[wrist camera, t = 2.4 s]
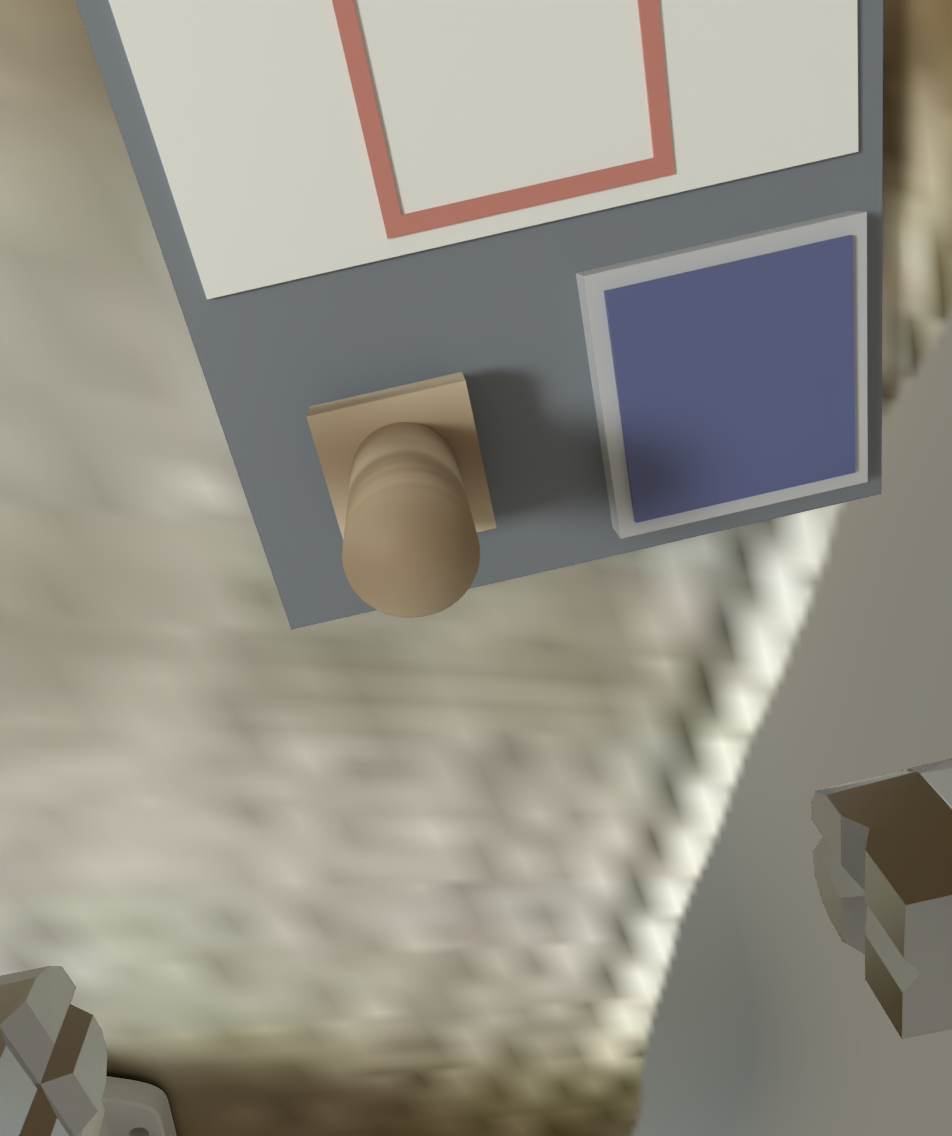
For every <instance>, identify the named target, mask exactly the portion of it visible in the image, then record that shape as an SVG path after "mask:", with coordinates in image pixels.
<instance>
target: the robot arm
mask: <svg viewBox="0 0 952 1136" xmlns="http://www.w3.org/2000/svg"><path fill="white" fill-rule="evenodd" d="M811 812H812V813H811V814H812V815H811V817H812V821H813V823H814V824H815V826H816V827H817V829H818V830H819V832H820V834H821V835H822V836H823V837H822V839H821V840H820V842H819V843H818V845H817V846H816V847H815V849H814V850H813V862H814V875H815V879H816V882H817V886H818V889H819V893H820V896H821V900H822V903H823V905H824V907H825V909H826V911H827V914H828V916H829V918H830V920H831V922H832V924H833V925H834V927H835V929H836V931H837V932H838V934H839V936H840V938H841V939H842V941H843V942H844V943H846V944H848V945H849V946H852V947H853V948H855V949H856V950H858V951H860V952H862V953H863V954H865V979H866V981H867V983H868V984H869V986H870V988H871V989H872V991H873V992H874V994H875V996H876V997H877V999H878V1001H879V1002H880V1004H881V1006H882V1007H883V1009H884V1010H885V1012H886V1014H887V1015H888V1017H889V1019H890V1020H891V1022H892V1024H893V1025H894V1027H895V1029H896V1030H897V1032H898V1033H899V1035H900V1037H901V1038H902V1039H904V1038H909V1037H914V1036H920V1035H925V1034H930V1033H935V1032H940V1031H945V1030H950V1029H952V758H951V759H947V760H943V761H939V762H934V763H931V764H926V765H922V766H918V767H913V768H910V769H908V770H906V771H903V770H901V771H897V772H893V773H889V774H885V775H880V776H877V777H872V778H868V779H864V780H860V781H855V782H851V783H847V784H843V785H838V786H834V787H830V788H826V789H822V790H817V791H815V792H814V795H813V798H812V801H811ZM75 989H76V986H75V985H74V983H73V982H72V981H71V979H70V978H69V976H68V975H67V973H66V972H65V970H64V969H63V967H60V966H47V967H42V968H37V969H32V970H27V971H22V972H17V973H12V974H7V975H2V976H0V1136H177V1134H176V1130H175V1126H174V1122H173V1118H172V1114H171V1110H170V1106H169V1102H168V1098H167V1096H166V1094H165V1093H164V1092H163V1091H162V1090H161V1089H159V1088H158V1087H156V1086H154V1085H151V1084H148V1083H144V1082H140V1081H135V1080H129V1079H123V1078H116V1077H109V1076H106V1074H107V1048H106V1044H105V1040H104V1036H103V1032H102V1030H101V1028H100V1026H99V1025H98V1023H97V1021H96V1019H95V1018H94V1016H93V1015H92V1014H90V1013H88V1012H86V1011H83V1010H81V1009H79V1008H77V1007H75V1006H73V1005H71V1004H70V1003H71V1001H72V998H73V995H74V992H75Z"/></svg>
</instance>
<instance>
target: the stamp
mask: <svg viewBox="0 0 952 1136" xmlns="http://www.w3.org/2000/svg"><path fill="white" fill-rule="evenodd" d="M307 420H308V424H309V427H310V430H311V434H312V437H313V440H314V444H315V447H316V451H317V454H318V457H319V461H320V464H321V467H322V471H323V474H324V477H325V481H326V484H327V488H328V491H329V494H330V498H331V501H332V504H333V508H334V511H335V514H336V518H337V521H338V525H339V528H340V531H341V535H342V538H343V548H342V561H343V567H344V572H345V574H346V577H347V580H348V581H349V583H350V585H351V587H352V588H353V590H354V591H355V592H356V594H357V595H358V596H359V597H360V598H361V599H362V600H363V601H365V602H366V603H367V604H368V605H370V606H372V607H373V608H375V609H377V610H379V611H381V612H383V613H386V614H389V615H393V616H398V617H408V618H412V617H422V616H428V615H431V614H435V613H437V612H440V611H442V610H444V609H446V608H448V607H449V606H451V605H452V604H454V603H455V602H456V601H458V600H459V599H460V598H461V597H462V596H463V595H464V594H465V593H466V591H467V590H468V589H469V587H470V586H471V584H472V583H473V581H474V579H475V576H476V574H477V571H478V567H479V562H480V545H479V540H478V536H477V532H481V531H486V530H490V529H494V528H496V523H495V518H494V513H493V508H492V504H491V499H490V494H489V489H488V485H487V480H486V475H485V470H484V466H483V461H482V456H481V451H480V447H479V442H478V437H477V432H476V427H475V423H474V418H473V413H472V408H471V404H470V399H469V394H468V389H467V385H466V380H465V378H464V376H463V373H462V372H458V373H453V374H448V375H444V376H439V377H435V378H431V379H426V380H422V381H417V382H413V383H409V384H404V385H400V386H396V387H391V388H387V389H382V390H378V391H374V392H369V393H365V394H361V395H356V396H352V397H347V398H343V399H339V400H334V401H330V402H325V403H321V404H318V405H314V406H310V408H309V411H308V414H307Z"/></svg>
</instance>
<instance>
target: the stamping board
mask: <svg viewBox="0 0 952 1136" xmlns="http://www.w3.org/2000/svg"><path fill="white" fill-rule="evenodd" d="M76 3H77V6H78V9H79V12H80V15H81V18H82V21H83V24H84V27H85V30H86V32H87V35H88V38H89V41H90V44H91V47H92V50H93V53H94V56H95V59H96V62H97V65H98V67H99V70H100V73H101V76H102V79H103V82H104V85H105V88H106V91H107V94H108V97H109V99H110V102H111V105H112V108H113V111H114V114H115V117H116V120H117V123H118V126H119V129H120V132H121V134H122V137H123V140H124V143H125V146H126V149H127V152H128V155H129V158H130V161H131V164H132V166H133V169H134V172H135V175H136V178H137V181H138V184H139V187H140V190H141V193H142V196H143V199H144V201H145V204H146V207H147V210H148V213H149V216H150V219H151V222H152V225H153V228H154V231H155V233H156V236H157V239H158V242H159V245H160V248H161V251H162V254H163V257H164V260H165V263H166V265H167V268H168V271H169V274H170V277H171V280H172V283H173V286H174V289H175V292H176V295H177V298H178V300H179V303H180V306H181V309H182V312H183V315H184V318H185V321H186V324H187V327H188V330H189V332H190V335H191V338H192V341H193V344H194V347H195V350H196V353H197V356H198V359H199V362H200V365H201V367H202V370H203V373H204V376H205V379H206V382H207V385H208V388H209V391H210V394H211V397H212V399H213V402H214V405H215V408H216V411H217V414H218V417H219V420H220V423H221V426H222V429H223V432H224V434H225V437H226V440H227V443H228V446H229V449H230V452H231V455H232V458H233V461H234V464H235V466H236V469H237V472H238V475H239V478H240V481H241V484H242V487H243V490H244V493H245V496H246V499H247V501H248V504H249V507H250V510H251V513H252V516H253V519H254V522H255V525H256V528H257V531H258V533H259V536H260V539H261V542H262V545H263V548H264V551H265V554H266V557H267V560H268V563H269V565H270V568H271V571H272V574H273V577H274V580H275V583H276V586H277V589H278V592H279V595H280V598H281V600H282V603H283V606H284V609H285V612H286V615H287V618H288V621H289V624H290V627H291V629H296V628H300V627H304V626H309V625H313V624H317V623H322V622H326V621H330V620H335V619H339V618H343V617H348V616H352V615H356V614H361V613H365V612H370V611H374V610H377V609H375V608H373V607H372V606H370V605H368V604H367V603H366V602H365V601H363V600H362V599H361V598H360V597H359V596H358V595H357V594H356V592H355V591H354V590H353V588H352V587H351V585H350V583H349V581H348V580H347V577H346V574H345V572H344V567H343V561H342V548H343V538H342V535H341V531H340V528H339V525H338V521H337V518H336V514H335V511H334V508H333V504H332V501H331V498H330V494H329V491H328V488H327V484H326V481H325V477H324V474H323V471H322V467H321V464H320V461H319V457H318V454H317V451H316V447H315V444H314V440H313V437H312V434H311V430H310V427H309V424H308V420H307V414H308V411H309V408H310V406H314V405H318V404H321V403H325V402H330V401H334V400H339V399H343V398H347V397H352V396H356V395H361V394H365V393H369V392H374V391H378V390H382V389H387V388H391V387H396V386H400V385H404V384H409V383H413V382H417V381H422V380H426V379H431V378H435V377H439V376H444V375H448V374H453V373H458V372H462V373H463V376H464V378H465V380H466V385H467V389H468V394H469V399H470V404H471V408H472V413H473V418H474V423H475V427H476V432H477V437H478V442H479V447H480V451H481V456H482V461H483V466H484V470H485V475H486V480H487V485H488V489H489V494H490V499H491V504H492V508H493V513H494V518H495V523H496V528H494V529H490V530H486V531H481V532H477V536H478V540H479V545H480V562H479V567H478V571H477V574H476V576H475V579H474V581H473V583H472V584H471V586H470V587H469V588H474V587H478V586H482V585H487V584H491V583H496V582H500V581H504V580H509V579H513V578H517V577H522V576H526V575H530V574H535V573H539V572H543V571H548V570H552V569H556V568H561V567H565V566H569V565H574V564H578V563H582V562H587V561H591V560H595V559H600V558H604V557H609V556H613V555H617V554H622V553H626V552H630V551H635V550H639V549H643V548H648V547H652V546H656V545H661V544H665V543H669V542H674V541H678V540H682V539H687V538H691V537H695V536H700V535H704V534H708V533H713V532H717V531H721V530H726V529H730V528H735V527H739V526H743V525H748V524H752V523H756V522H761V521H765V520H769V519H774V518H778V517H782V516H787V515H791V514H795V513H800V512H804V511H808V510H813V509H817V508H821V507H826V506H830V505H834V504H839V503H843V502H847V501H851V500H856V499H860V498H865V497H869V496H874V495H878V494H881V433H882V176H883V0H76Z"/></svg>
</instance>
